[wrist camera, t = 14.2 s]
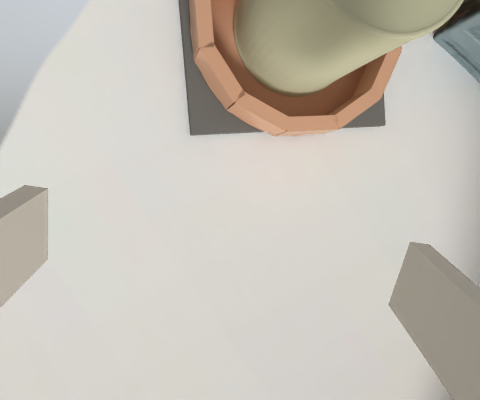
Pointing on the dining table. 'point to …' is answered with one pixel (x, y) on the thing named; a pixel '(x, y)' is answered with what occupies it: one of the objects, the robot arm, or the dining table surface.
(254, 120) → the bowl
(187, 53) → the mat
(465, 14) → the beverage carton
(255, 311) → the dining table surface
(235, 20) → the can
